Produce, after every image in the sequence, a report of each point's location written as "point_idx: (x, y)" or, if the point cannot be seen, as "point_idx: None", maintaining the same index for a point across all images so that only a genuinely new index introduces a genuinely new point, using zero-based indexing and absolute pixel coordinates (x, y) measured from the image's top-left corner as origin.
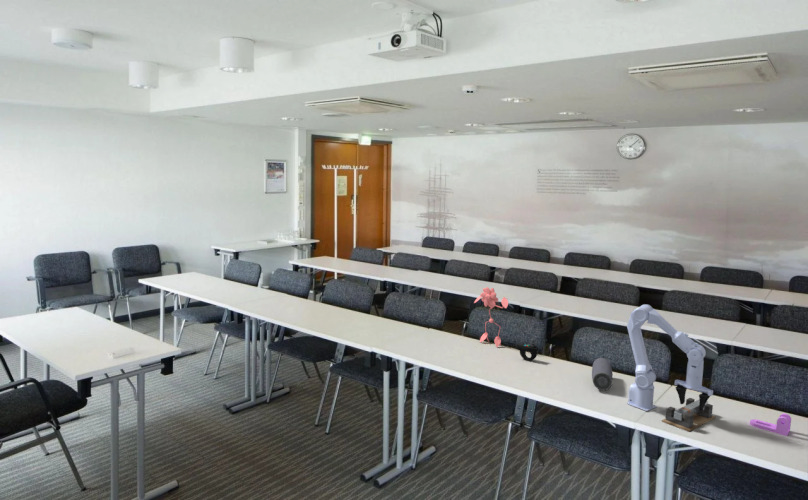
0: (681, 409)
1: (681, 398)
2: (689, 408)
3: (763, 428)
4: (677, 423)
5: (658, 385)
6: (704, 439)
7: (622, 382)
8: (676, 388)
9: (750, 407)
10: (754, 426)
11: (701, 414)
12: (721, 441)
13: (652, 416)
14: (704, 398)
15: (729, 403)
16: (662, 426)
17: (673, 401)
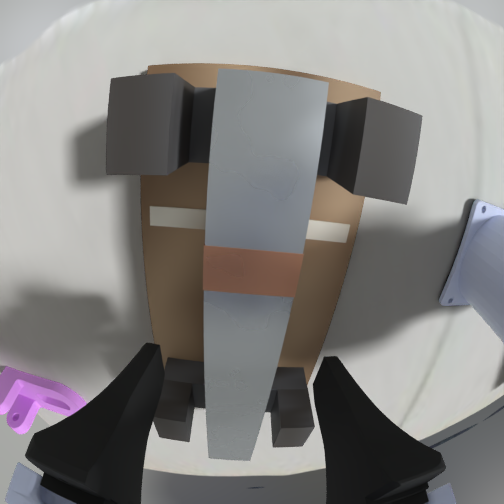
0: (279, 211)
1: (344, 398)
2: (224, 311)
3: (40, 380)
4: None
5: (413, 436)
6: (56, 62)
7: (499, 376)
8: (438, 464)
9: (163, 466)
10: (59, 384)
11: None
12: (6, 132)
13: (441, 144)
14: (37, 433)
15: (210, 468)
16: (334, 14)
17: None
